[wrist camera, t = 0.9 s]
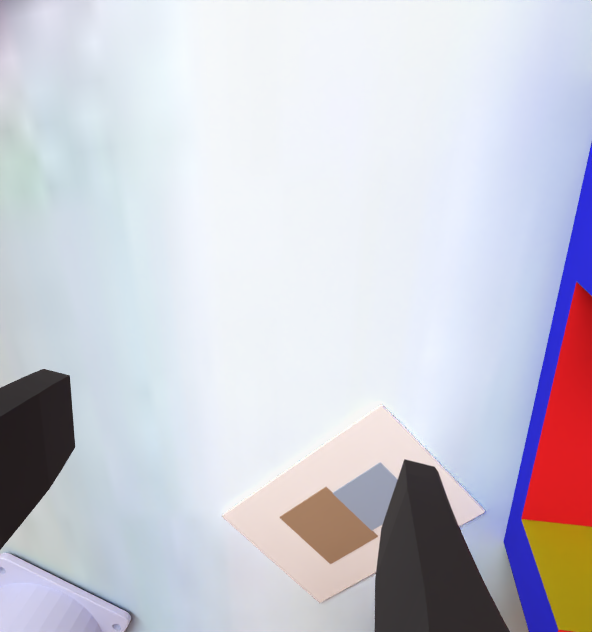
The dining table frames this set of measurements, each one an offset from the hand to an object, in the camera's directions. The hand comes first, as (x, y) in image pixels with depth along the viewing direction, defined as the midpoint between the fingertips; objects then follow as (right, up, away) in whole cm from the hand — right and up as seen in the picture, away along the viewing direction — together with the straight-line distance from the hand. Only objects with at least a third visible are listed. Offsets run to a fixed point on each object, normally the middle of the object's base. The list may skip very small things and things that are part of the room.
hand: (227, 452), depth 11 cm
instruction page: (+4, -6, +14) cm, 15 cm away
